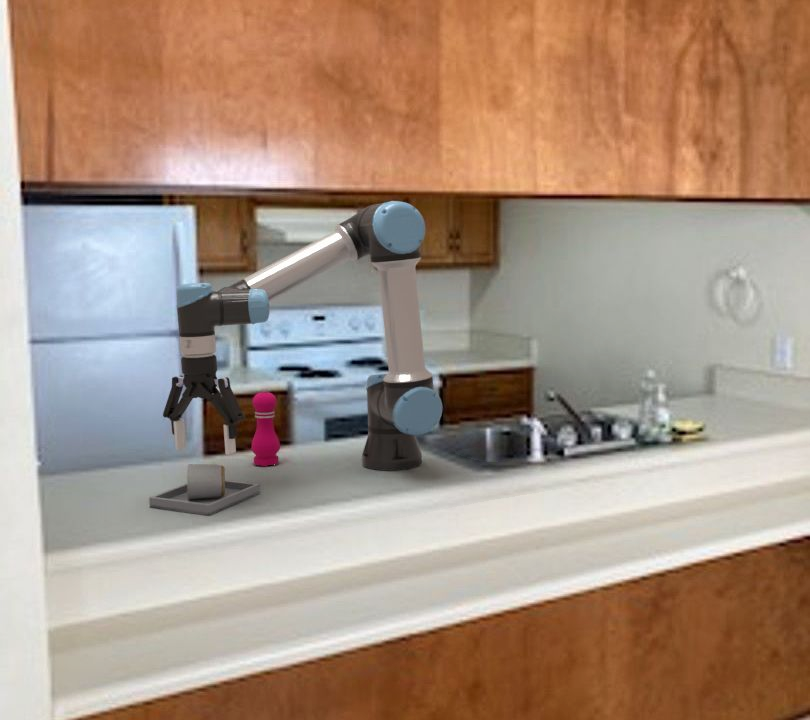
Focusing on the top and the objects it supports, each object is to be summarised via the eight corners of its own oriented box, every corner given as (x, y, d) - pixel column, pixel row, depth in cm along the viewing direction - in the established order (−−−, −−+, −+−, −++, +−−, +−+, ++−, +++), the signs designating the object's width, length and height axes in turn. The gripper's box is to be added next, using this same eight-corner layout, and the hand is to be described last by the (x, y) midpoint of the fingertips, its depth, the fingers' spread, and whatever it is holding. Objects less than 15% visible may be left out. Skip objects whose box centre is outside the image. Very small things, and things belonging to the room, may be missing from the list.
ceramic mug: (226, 500, 198) (224, 465, 198) (187, 503, 197) (185, 468, 196) (225, 488, 209) (224, 455, 208) (188, 491, 207) (187, 458, 206)
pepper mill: (285, 464, 233) (283, 386, 231) (259, 468, 229) (257, 388, 227) (272, 459, 239) (270, 383, 237) (247, 463, 235) (244, 385, 233)
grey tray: (260, 493, 206) (259, 484, 206) (209, 515, 190) (209, 505, 190) (203, 486, 213) (202, 477, 213) (149, 507, 197) (149, 497, 197)
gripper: (141, 356, 199) (149, 451, 202) (235, 358, 188) (241, 459, 191) (165, 351, 206) (172, 443, 209) (256, 353, 195) (262, 451, 198)
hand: (205, 451), depth 200 cm, fingers open, 13 cm apart
